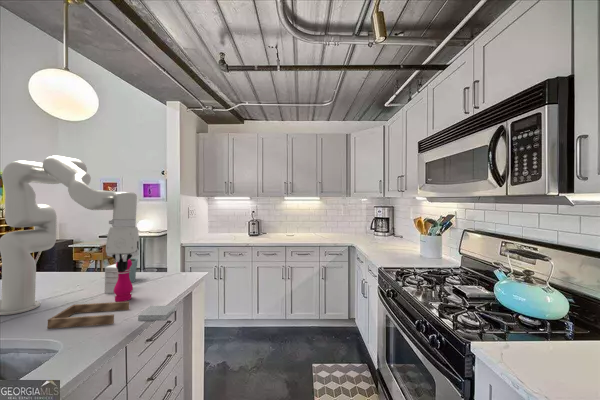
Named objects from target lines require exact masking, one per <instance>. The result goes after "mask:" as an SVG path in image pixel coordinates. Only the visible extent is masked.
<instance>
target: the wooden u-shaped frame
mask: <svg viewBox="0 0 600 400" xmlns="http://www.w3.org/2000/svg"><path fill="white" fill-rule="evenodd" d="M128 310H130V301H123V302H116V301H114V302H97V303H80V304H72V305H70V306H69V307H67V308H65V309H64V310H62V311H60V312H59V313H56V314H55V315H53V316H52V317H50V318H48V319H47V327H46V328H47V329H60V328H74V327H87V326H88V327H89V326H101V325H103V326H104V325H113V324H114V323H115V314H102V315H99V314H98V315H87V316H86V315H85V316H84V315H83V316H72V315H74V314H79V313H81V314H82V313H97V312H98V313H99V312H113V311H128Z"/></svg>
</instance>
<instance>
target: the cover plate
mask: <svg viewBox="0 0 600 400" xmlns="http://www.w3.org/2000/svg"><path fill="white" fill-rule="evenodd" d="M176 311H177V306H176V305H150V306H149V307H147V308H146V309H144V310H143V311H142V312H140V313H139V314H138V315H137V317H138V318H137V321H138V322H139V321H140V322H142V321H143V322H144V321H145V322H146V321H147V322H150V321H151V322H153V321H162V322H163V321H167V320H168V319H169V318H170V317H172V315H173V314H175V312H176Z"/></svg>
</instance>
